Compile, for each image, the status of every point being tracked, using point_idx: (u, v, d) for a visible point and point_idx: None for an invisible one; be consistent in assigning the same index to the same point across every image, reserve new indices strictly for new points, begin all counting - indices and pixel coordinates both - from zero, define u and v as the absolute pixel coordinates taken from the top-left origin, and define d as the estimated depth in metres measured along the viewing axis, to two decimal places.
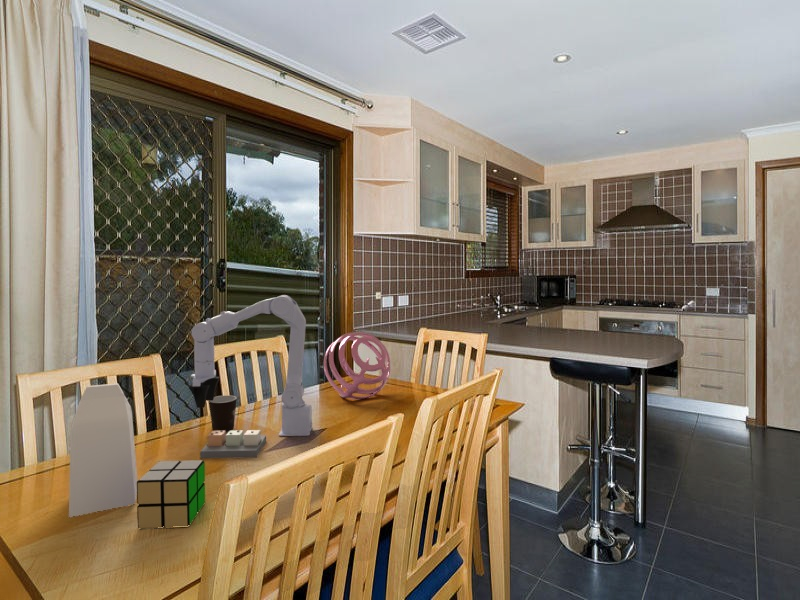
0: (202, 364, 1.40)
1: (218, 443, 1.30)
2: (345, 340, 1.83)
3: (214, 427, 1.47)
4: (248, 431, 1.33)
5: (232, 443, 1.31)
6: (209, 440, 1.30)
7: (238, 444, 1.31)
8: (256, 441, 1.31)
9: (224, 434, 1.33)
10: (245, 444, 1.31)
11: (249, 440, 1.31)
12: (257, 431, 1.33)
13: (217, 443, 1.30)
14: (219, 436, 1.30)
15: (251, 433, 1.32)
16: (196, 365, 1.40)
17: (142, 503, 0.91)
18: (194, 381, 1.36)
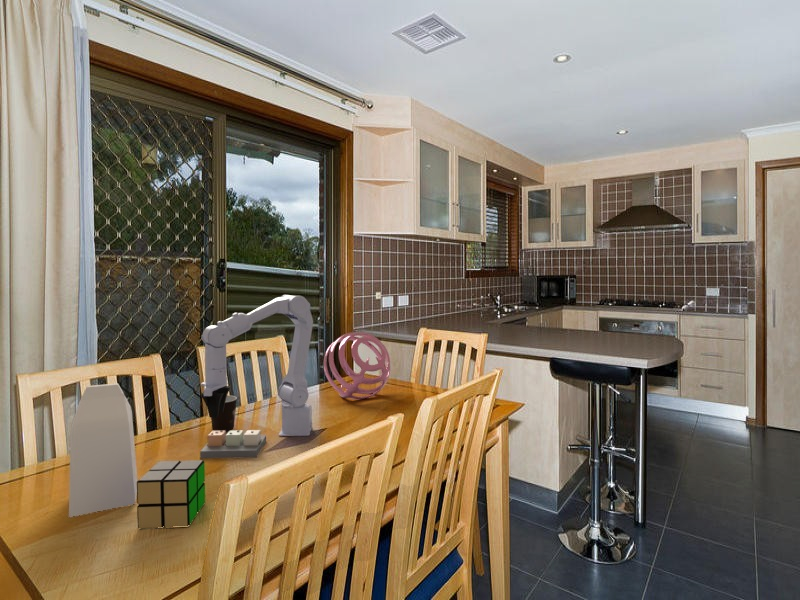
0: (214, 371, 1.28)
1: (218, 443, 1.30)
2: (345, 340, 1.83)
3: (214, 427, 1.47)
4: (248, 431, 1.33)
5: (232, 443, 1.31)
6: (209, 440, 1.30)
7: (238, 444, 1.31)
8: (256, 441, 1.31)
9: (224, 434, 1.33)
10: (245, 444, 1.31)
11: (249, 440, 1.31)
12: (257, 431, 1.33)
13: (217, 443, 1.30)
14: (219, 436, 1.30)
15: (251, 433, 1.32)
16: (207, 373, 1.28)
17: (142, 504, 0.91)
18: (205, 390, 1.24)
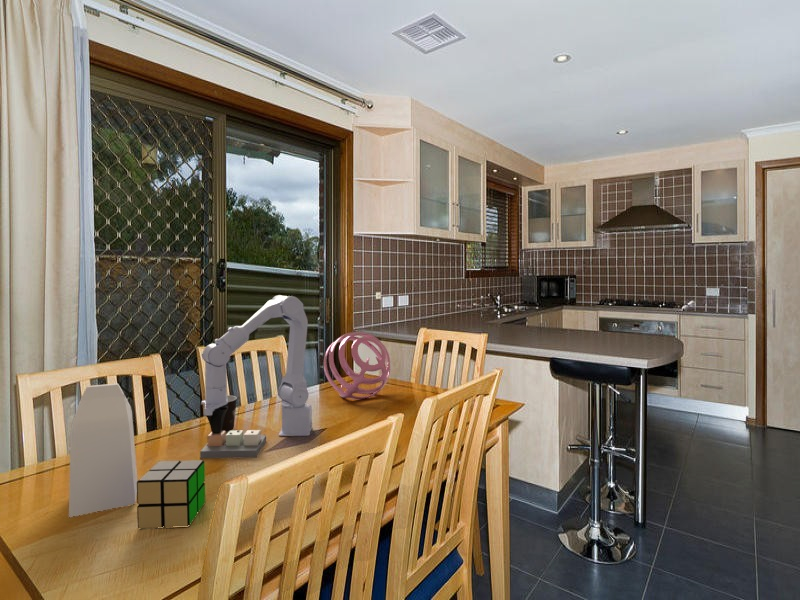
0: (214, 390, 1.28)
1: (218, 443, 1.30)
2: (345, 340, 1.83)
3: None
4: (248, 431, 1.33)
5: (232, 443, 1.31)
6: (209, 440, 1.30)
7: (238, 444, 1.31)
8: (256, 441, 1.31)
9: (224, 434, 1.33)
10: (245, 444, 1.31)
11: (249, 440, 1.31)
12: (257, 431, 1.33)
13: (217, 444, 1.30)
14: (219, 436, 1.30)
15: (251, 433, 1.32)
16: (207, 391, 1.29)
17: (142, 504, 0.91)
18: (205, 410, 1.24)
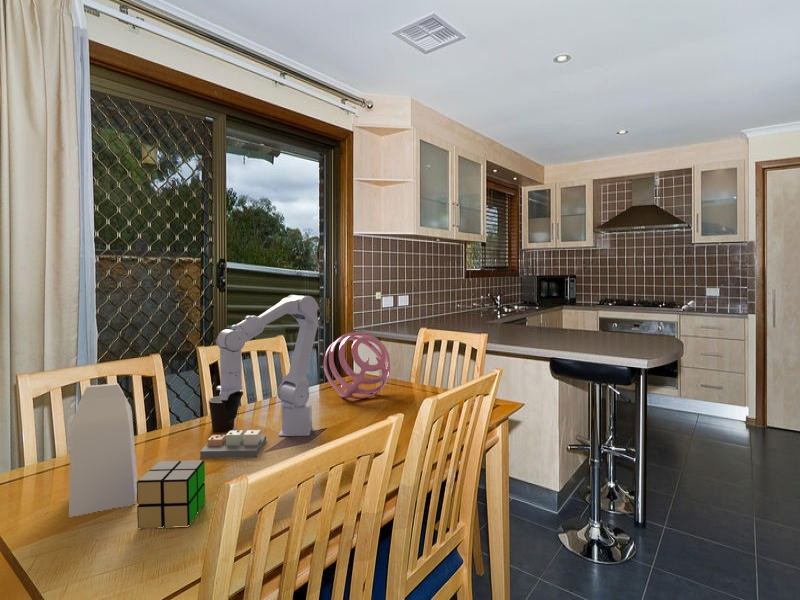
0: (229, 375, 1.28)
1: None
2: (345, 340, 1.83)
3: (214, 427, 1.47)
4: (248, 431, 1.33)
5: (232, 443, 1.31)
6: (209, 444, 1.30)
7: (238, 444, 1.31)
8: (256, 441, 1.31)
9: (224, 438, 1.33)
10: (245, 444, 1.31)
11: (249, 440, 1.31)
12: (257, 431, 1.33)
13: None
14: (219, 440, 1.30)
15: (251, 433, 1.32)
16: (222, 376, 1.29)
17: (142, 504, 0.91)
18: (221, 394, 1.24)
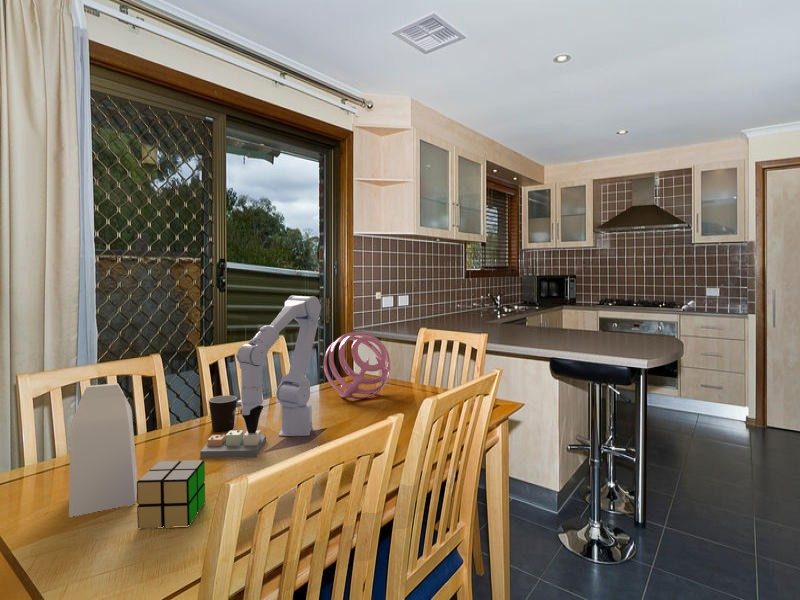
0: (250, 390, 1.29)
1: None
2: (345, 340, 1.83)
3: (214, 427, 1.47)
4: None
5: (232, 443, 1.31)
6: (209, 444, 1.30)
7: (238, 444, 1.31)
8: (256, 441, 1.31)
9: (224, 438, 1.33)
10: (245, 444, 1.31)
11: (249, 440, 1.31)
12: (257, 431, 1.33)
13: None
14: (219, 440, 1.30)
15: (251, 433, 1.32)
16: (244, 391, 1.29)
17: (142, 503, 0.91)
18: (243, 409, 1.25)
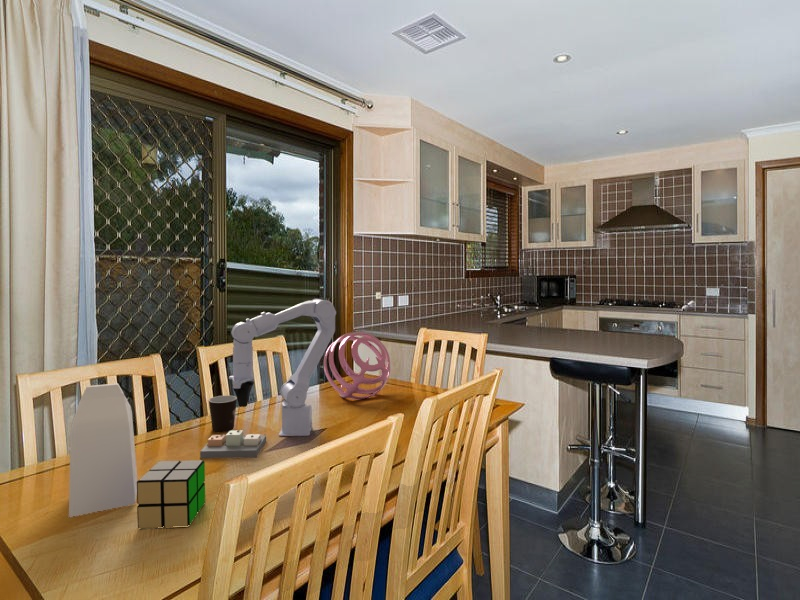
0: (241, 366, 1.36)
1: None
2: (345, 340, 1.83)
3: (214, 427, 1.47)
4: (248, 435, 1.33)
5: (232, 443, 1.31)
6: (209, 444, 1.30)
7: (238, 444, 1.31)
8: None
9: (224, 438, 1.33)
10: None
11: (249, 444, 1.31)
12: (257, 435, 1.33)
13: None
14: (219, 440, 1.30)
15: (251, 437, 1.32)
16: (235, 367, 1.37)
17: (142, 504, 0.91)
18: (234, 383, 1.32)
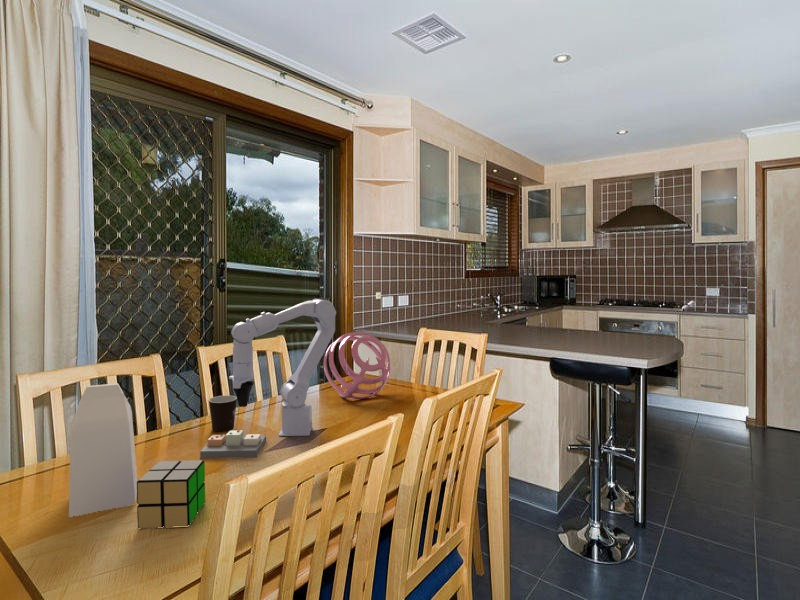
0: (241, 366, 1.36)
1: None
2: (345, 340, 1.83)
3: (214, 427, 1.47)
4: (248, 435, 1.33)
5: (232, 443, 1.31)
6: (209, 444, 1.30)
7: (238, 444, 1.31)
8: None
9: (224, 438, 1.33)
10: None
11: (249, 444, 1.31)
12: (257, 435, 1.33)
13: None
14: (219, 440, 1.30)
15: (251, 437, 1.32)
16: (235, 367, 1.37)
17: (142, 504, 0.91)
18: (234, 383, 1.32)
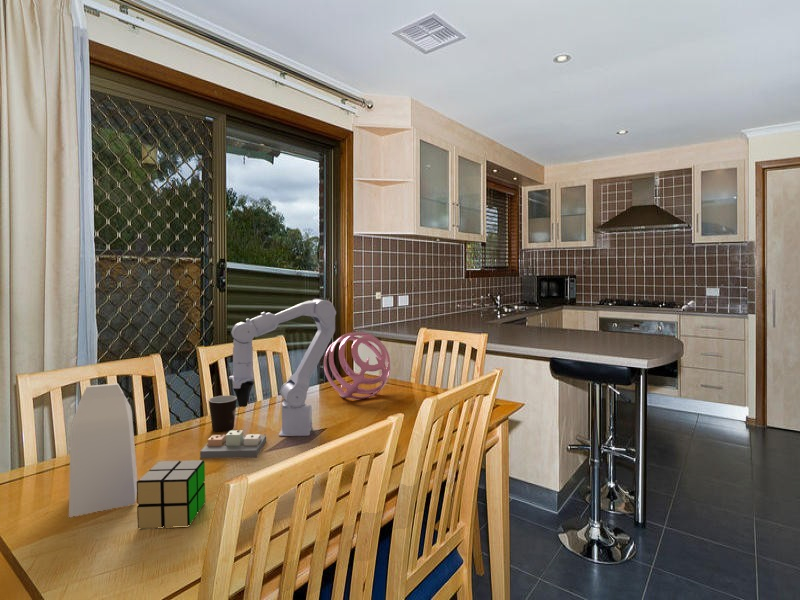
0: (241, 366, 1.36)
1: None
2: (345, 340, 1.83)
3: (214, 427, 1.47)
4: (248, 435, 1.33)
5: (232, 443, 1.31)
6: (209, 444, 1.30)
7: (238, 444, 1.31)
8: None
9: (224, 438, 1.33)
10: None
11: (249, 444, 1.31)
12: (257, 435, 1.33)
13: None
14: (219, 440, 1.30)
15: (251, 437, 1.32)
16: (235, 367, 1.37)
17: (142, 504, 0.91)
18: (234, 383, 1.32)
